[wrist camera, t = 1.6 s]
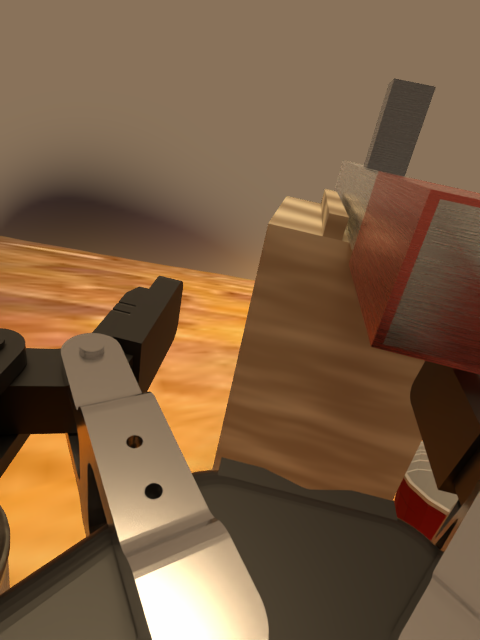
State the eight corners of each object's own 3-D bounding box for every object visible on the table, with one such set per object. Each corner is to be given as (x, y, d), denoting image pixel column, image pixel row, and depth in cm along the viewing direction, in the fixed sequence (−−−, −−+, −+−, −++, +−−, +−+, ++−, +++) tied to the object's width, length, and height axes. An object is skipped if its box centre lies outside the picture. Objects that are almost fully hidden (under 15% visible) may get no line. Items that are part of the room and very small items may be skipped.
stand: (335, 658, 32) (544, 265, 19) (168, 604, 34) (251, 197, 20) (329, 501, 47) (445, 215, 33) (213, 467, 48) (279, 177, 34)
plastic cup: (421, 511, 48) (463, 433, 43) (491, 608, 39) (556, 522, 34) (341, 519, 45) (377, 435, 40) (397, 626, 36) (453, 534, 31)
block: (537, 389, 10) (822, -81, 6) (371, 346, 10) (549, -124, 6) (367, 204, 42) (397, 113, 39) (330, 196, 43) (355, 105, 39)
